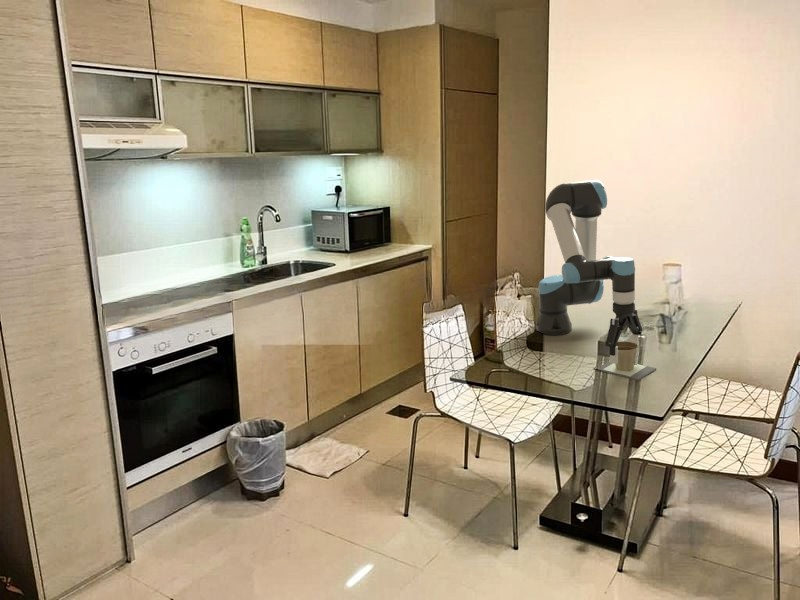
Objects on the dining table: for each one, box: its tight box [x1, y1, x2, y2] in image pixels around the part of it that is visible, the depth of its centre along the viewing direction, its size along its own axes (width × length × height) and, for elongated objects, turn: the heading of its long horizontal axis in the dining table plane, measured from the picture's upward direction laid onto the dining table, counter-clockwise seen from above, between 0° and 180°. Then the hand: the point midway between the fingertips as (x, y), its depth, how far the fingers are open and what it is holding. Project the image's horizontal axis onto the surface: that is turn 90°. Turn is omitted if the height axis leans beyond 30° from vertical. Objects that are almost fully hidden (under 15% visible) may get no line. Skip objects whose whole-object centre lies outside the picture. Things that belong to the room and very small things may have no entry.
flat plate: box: [593, 362, 657, 381], centre depth 242 cm, size 12×18×1 cm, turn 40°
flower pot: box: [615, 340, 639, 371], centre depth 240 cm, size 9×9×9 cm
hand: (624, 357), depth 240 cm, fingers open, 13 cm apart
